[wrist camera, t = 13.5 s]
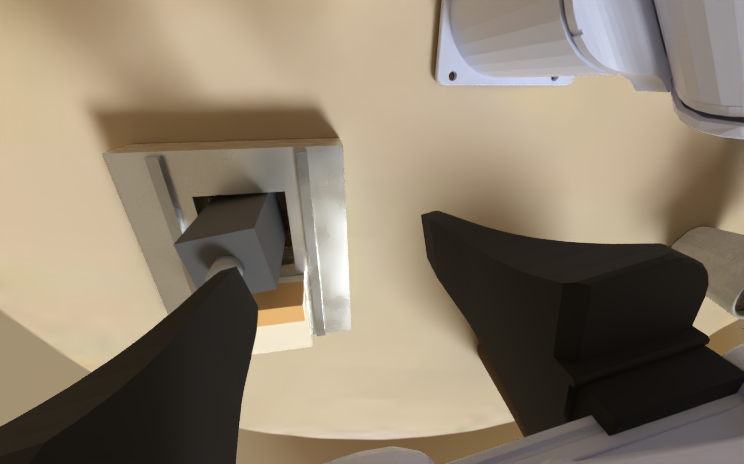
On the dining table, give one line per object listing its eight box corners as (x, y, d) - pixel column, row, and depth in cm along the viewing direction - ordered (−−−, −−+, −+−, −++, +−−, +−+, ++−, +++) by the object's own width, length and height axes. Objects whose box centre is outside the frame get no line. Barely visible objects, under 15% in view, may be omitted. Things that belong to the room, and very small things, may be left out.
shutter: (304, 274, 20) (302, 305, 17) (312, 339, 22) (312, 374, 20) (208, 284, 19) (191, 318, 16) (229, 350, 22) (217, 389, 19)
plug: (272, 181, 19) (249, 238, 12) (287, 228, 21) (274, 301, 14) (218, 192, 19) (162, 256, 12) (237, 238, 21) (198, 318, 14)
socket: (339, 137, 19) (343, 146, 16) (347, 307, 25) (351, 333, 22) (130, 143, 17) (96, 155, 14) (196, 325, 23) (181, 356, 21)
